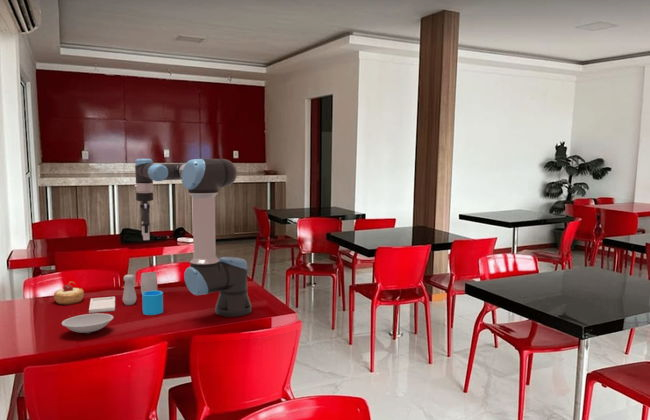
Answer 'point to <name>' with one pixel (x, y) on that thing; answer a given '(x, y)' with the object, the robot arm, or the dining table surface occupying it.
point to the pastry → (68, 295)
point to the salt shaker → (129, 290)
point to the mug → (152, 302)
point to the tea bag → (148, 282)
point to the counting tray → (102, 304)
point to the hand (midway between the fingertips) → (145, 237)
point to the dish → (87, 322)
